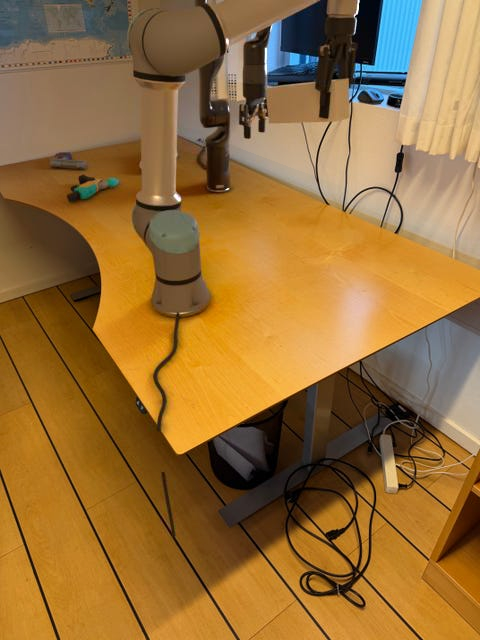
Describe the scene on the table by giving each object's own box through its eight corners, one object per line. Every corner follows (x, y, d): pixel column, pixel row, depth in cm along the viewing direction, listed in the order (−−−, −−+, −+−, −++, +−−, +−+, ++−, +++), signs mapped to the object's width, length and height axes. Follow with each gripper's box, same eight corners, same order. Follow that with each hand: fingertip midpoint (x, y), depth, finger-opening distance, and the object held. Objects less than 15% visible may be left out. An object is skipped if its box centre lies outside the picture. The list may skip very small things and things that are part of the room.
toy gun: (98, 160, 223) (83, 171, 211) (61, 158, 226) (45, 169, 214) (96, 152, 220) (81, 162, 208) (59, 150, 223) (43, 160, 212)
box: (349, 117, 130) (348, 78, 126) (336, 121, 127) (335, 80, 122) (281, 120, 148) (278, 85, 143) (268, 123, 145) (265, 88, 140)
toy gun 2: (44, 189, 181) (74, 196, 175) (91, 169, 199) (119, 175, 193) (47, 200, 183) (76, 207, 178) (93, 180, 202) (121, 186, 196)
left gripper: (352, 14, 125) (341, 108, 138) (304, 17, 114) (298, 119, 128) (376, 15, 120) (362, 112, 134) (329, 18, 110) (319, 124, 123)
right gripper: (257, 75, 151) (256, 128, 160) (231, 82, 141) (232, 138, 151) (277, 77, 147) (275, 131, 157) (252, 85, 138) (252, 142, 147)
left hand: (331, 115), depth 131 cm, fingers closed on box, 6 cm apart
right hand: (254, 135), depth 154 cm, fingers open, 8 cm apart
